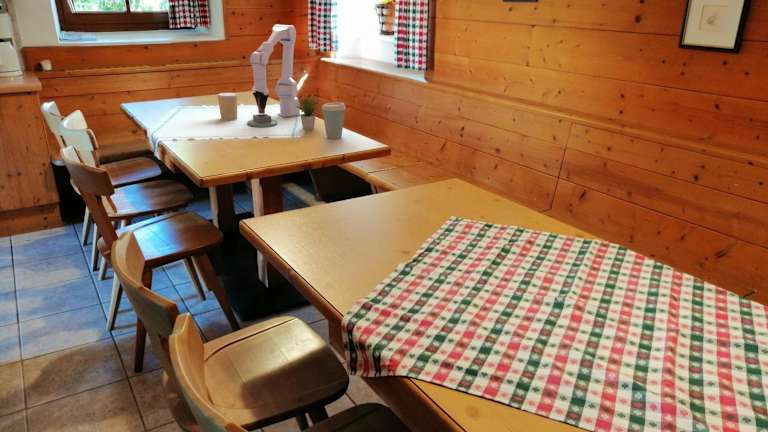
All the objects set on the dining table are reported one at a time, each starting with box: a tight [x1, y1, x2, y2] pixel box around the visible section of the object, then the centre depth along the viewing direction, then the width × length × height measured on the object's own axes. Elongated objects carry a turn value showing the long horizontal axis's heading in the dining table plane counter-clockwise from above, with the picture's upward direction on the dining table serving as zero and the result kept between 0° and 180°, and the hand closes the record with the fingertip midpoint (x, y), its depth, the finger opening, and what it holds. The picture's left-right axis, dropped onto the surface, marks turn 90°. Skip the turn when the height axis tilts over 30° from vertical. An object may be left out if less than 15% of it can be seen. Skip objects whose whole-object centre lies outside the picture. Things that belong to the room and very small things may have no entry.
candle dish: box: [247, 113, 278, 128], centre depth 269 cm, size 14×14×4 cm
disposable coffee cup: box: [321, 101, 347, 140], centre depth 247 cm, size 11×11×15 cm
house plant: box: [295, 94, 323, 131], centre depth 260 cm, size 14×14×16 cm
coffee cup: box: [217, 92, 238, 121], centre depth 276 cm, size 9×9×12 cm
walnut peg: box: [257, 99, 266, 114], centre depth 266 cm, size 3×3×8 cm
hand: (261, 107), depth 267 cm, fingers closed on walnut peg, 3 cm apart
